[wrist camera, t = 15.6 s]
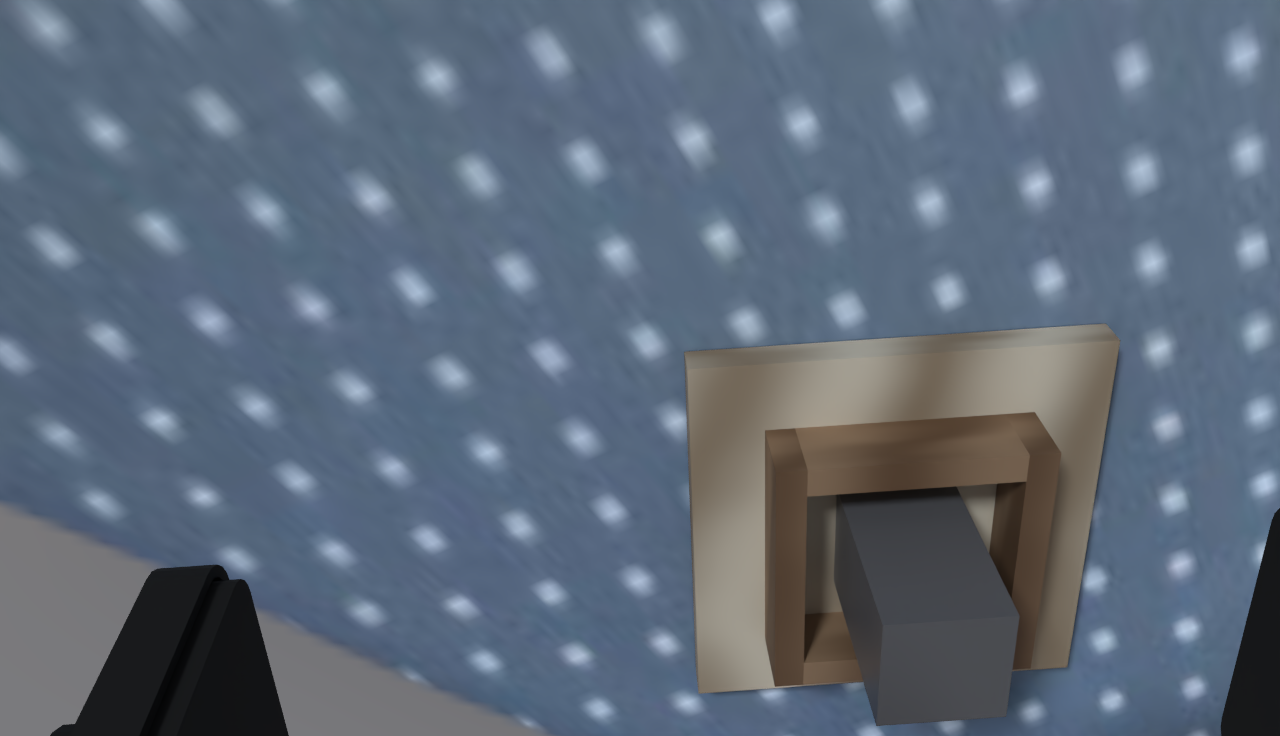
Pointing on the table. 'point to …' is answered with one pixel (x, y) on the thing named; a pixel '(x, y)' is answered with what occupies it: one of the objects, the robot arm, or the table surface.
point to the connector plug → (923, 606)
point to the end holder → (885, 482)
